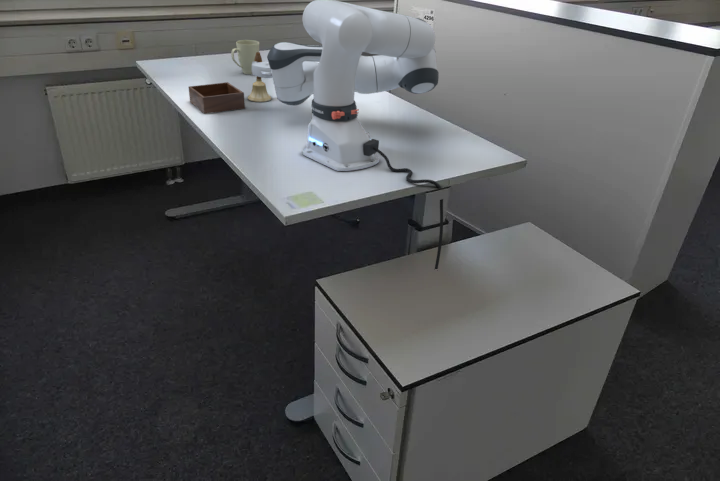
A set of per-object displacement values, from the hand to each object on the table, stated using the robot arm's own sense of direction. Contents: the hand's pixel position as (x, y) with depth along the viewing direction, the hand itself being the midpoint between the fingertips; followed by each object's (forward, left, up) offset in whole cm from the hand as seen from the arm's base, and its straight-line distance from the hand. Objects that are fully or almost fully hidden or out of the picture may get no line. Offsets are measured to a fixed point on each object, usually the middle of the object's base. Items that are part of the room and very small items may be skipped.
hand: (264, 62), depth 188 cm
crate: (+3, +17, -13) cm, 22 cm away
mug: (+37, -9, -14) cm, 40 cm away
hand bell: (+4, +1, -14) cm, 14 cm away
